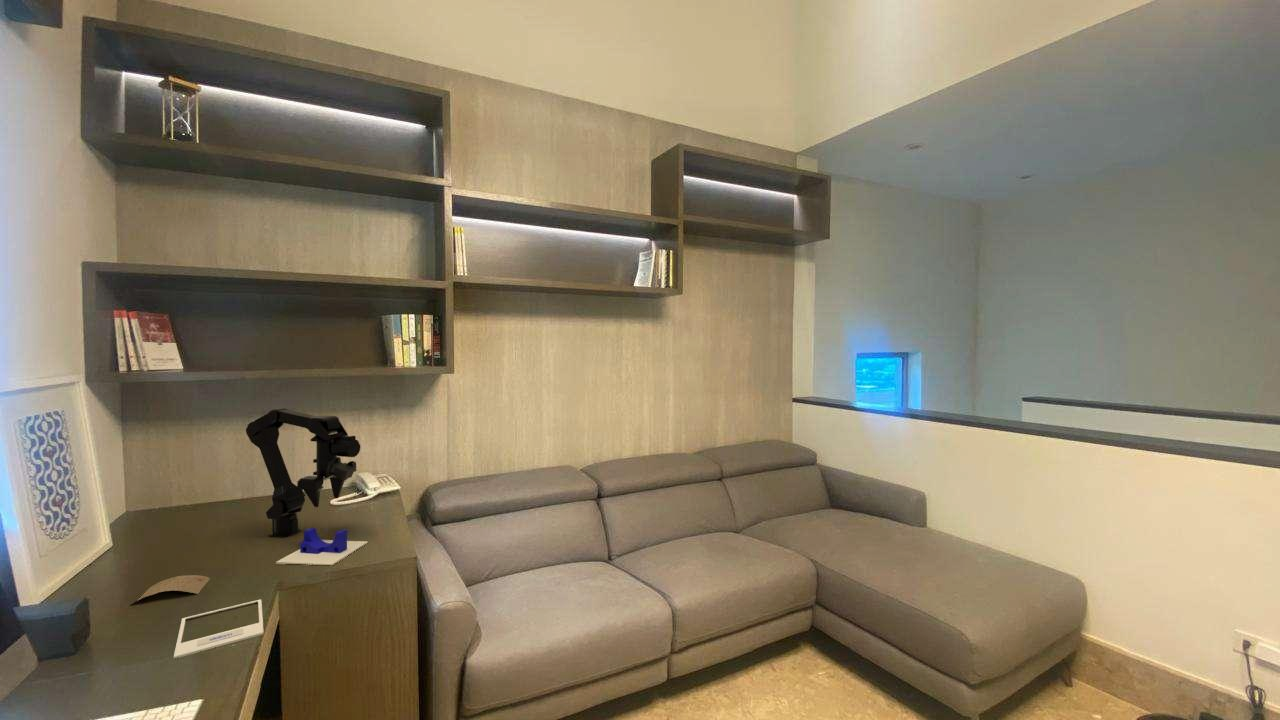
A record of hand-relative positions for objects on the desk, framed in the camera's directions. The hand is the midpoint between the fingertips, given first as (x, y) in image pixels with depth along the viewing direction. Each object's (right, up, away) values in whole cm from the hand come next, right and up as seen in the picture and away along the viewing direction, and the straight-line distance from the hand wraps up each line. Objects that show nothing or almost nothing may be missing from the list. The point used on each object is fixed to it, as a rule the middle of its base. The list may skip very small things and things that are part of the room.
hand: (326, 502), depth 168 cm
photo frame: (+9, -14, -53) cm, 55 cm away
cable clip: (+7, -12, -12) cm, 18 cm away
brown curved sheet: (-17, -13, -36) cm, 42 cm away
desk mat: (+7, -12, -12) cm, 18 cm away
